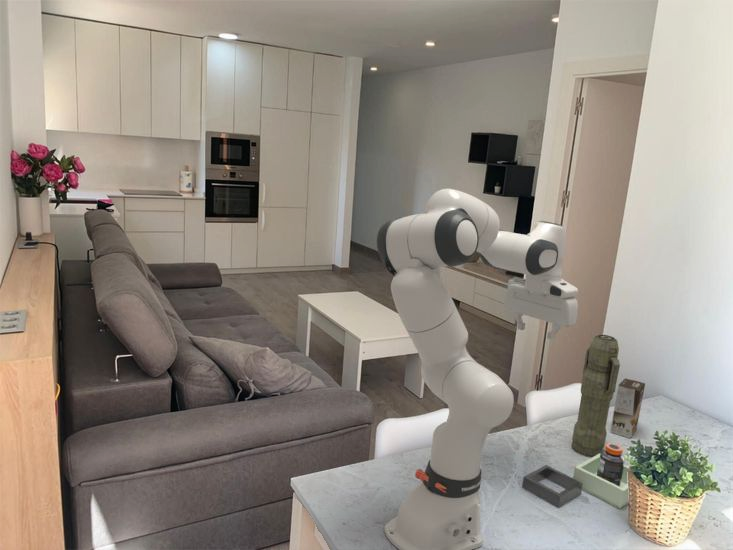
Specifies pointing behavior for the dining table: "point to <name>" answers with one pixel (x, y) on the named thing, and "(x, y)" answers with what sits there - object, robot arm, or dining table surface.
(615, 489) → the bin
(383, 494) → the dining table surface
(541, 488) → the dark grey shallow tray
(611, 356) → the thermos
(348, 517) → the dining table surface
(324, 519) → the dining table surface
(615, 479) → the pill bottle
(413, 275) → the robot arm
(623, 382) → the coffee box
